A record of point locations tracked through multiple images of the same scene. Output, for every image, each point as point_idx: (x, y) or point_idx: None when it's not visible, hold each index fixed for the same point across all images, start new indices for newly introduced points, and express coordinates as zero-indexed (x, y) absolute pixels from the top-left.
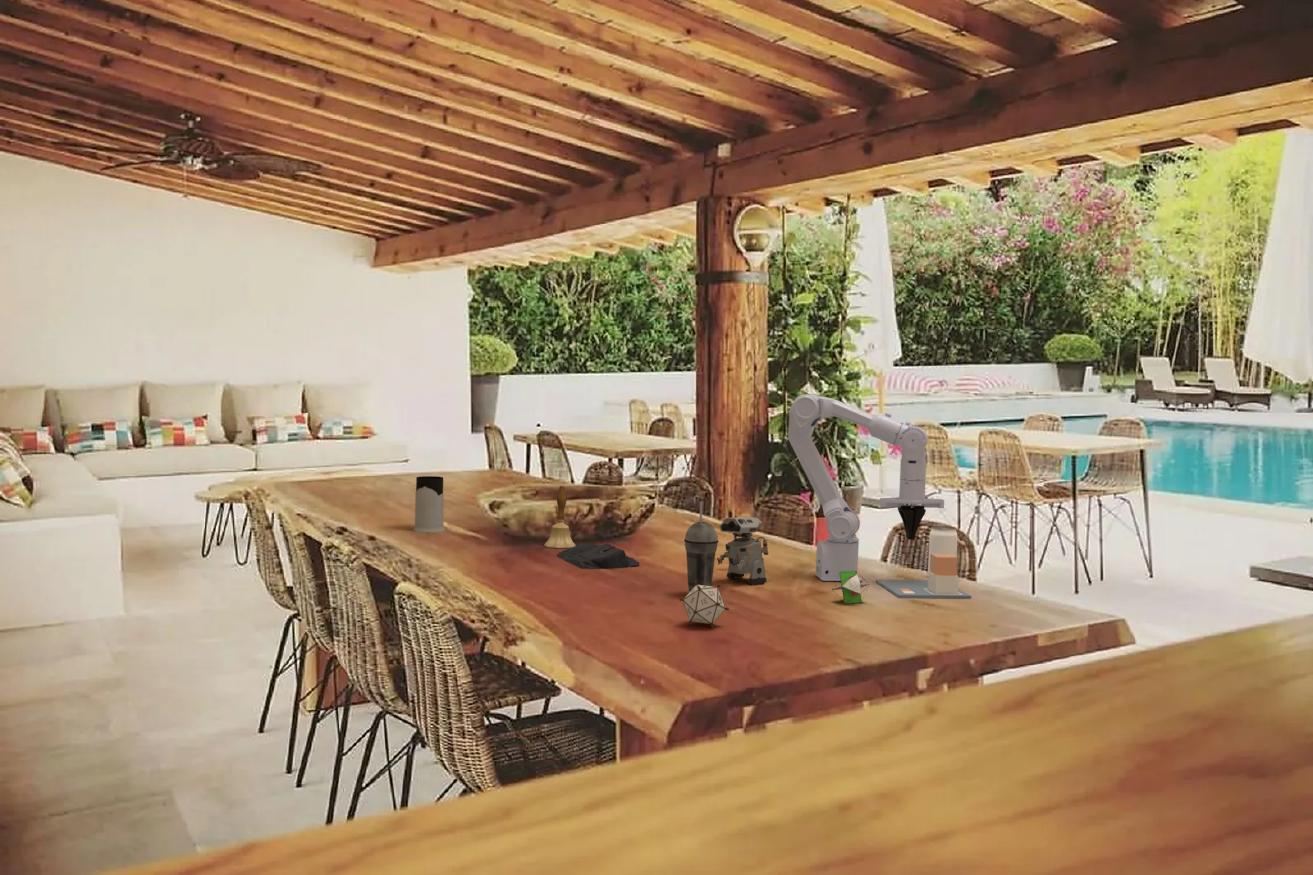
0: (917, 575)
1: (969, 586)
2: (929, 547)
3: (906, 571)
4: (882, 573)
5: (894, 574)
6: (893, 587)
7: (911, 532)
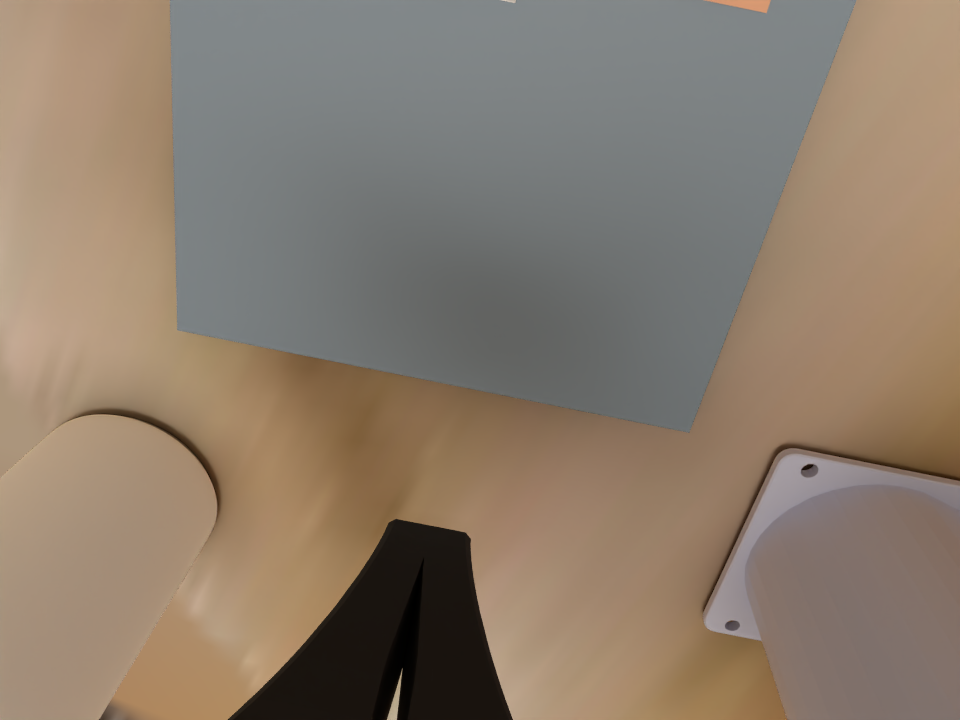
0: (270, 565)
1: (19, 173)
2: (119, 673)
3: None
4: None
5: None
6: (757, 107)
7: (437, 588)
